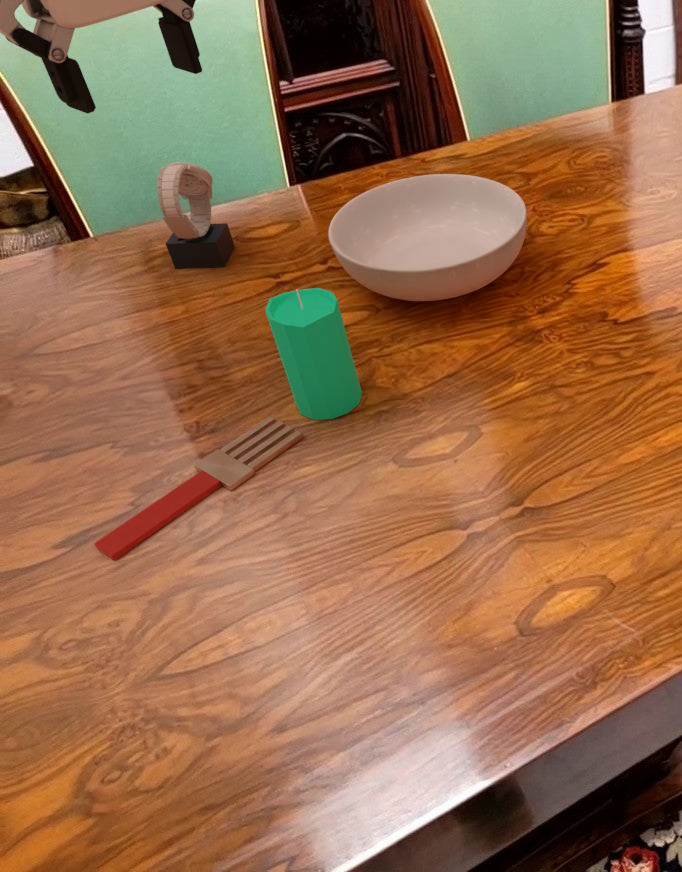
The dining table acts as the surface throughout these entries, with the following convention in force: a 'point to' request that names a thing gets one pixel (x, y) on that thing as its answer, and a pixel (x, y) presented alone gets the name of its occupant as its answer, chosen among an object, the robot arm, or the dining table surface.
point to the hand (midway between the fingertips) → (137, 88)
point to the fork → (205, 482)
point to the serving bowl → (429, 235)
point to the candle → (315, 352)
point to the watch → (192, 218)
